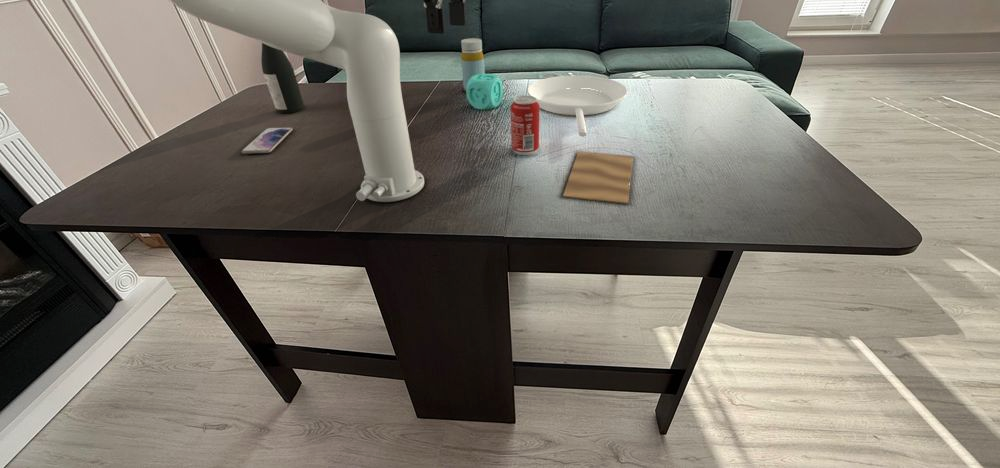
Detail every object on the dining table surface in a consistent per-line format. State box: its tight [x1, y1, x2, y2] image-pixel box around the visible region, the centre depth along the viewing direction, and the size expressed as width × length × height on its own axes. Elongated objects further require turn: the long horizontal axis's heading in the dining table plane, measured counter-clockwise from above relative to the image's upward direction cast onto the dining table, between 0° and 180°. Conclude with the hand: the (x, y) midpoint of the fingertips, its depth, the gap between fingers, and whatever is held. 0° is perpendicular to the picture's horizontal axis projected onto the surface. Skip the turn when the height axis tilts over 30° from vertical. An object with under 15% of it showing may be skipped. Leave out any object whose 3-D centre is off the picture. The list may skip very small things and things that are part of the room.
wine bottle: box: [260, 42, 305, 114], centre depth 119 cm, size 8×8×30 cm
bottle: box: [460, 37, 486, 92], centre depth 133 cm, size 7×7×15 cm
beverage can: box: [510, 95, 541, 156], centre depth 95 cm, size 6×6×12 cm
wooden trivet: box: [562, 151, 634, 205], centre depth 87 cm, size 20×12×1 cm, turn 163°
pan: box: [526, 74, 629, 138], centre depth 116 cm, size 28×44×4 cm, turn 175°
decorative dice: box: [465, 73, 504, 111], centre depth 123 cm, size 8×8×8 cm
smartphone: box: [241, 126, 293, 155], centre depth 108 cm, size 7×1×15 cm
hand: (447, 28), depth 81 cm, fingers open, 9 cm apart
